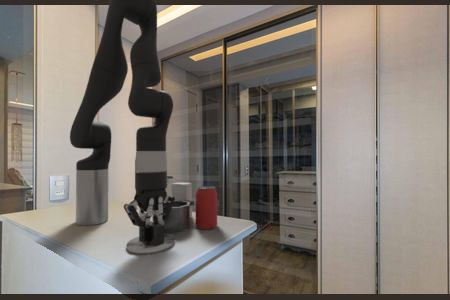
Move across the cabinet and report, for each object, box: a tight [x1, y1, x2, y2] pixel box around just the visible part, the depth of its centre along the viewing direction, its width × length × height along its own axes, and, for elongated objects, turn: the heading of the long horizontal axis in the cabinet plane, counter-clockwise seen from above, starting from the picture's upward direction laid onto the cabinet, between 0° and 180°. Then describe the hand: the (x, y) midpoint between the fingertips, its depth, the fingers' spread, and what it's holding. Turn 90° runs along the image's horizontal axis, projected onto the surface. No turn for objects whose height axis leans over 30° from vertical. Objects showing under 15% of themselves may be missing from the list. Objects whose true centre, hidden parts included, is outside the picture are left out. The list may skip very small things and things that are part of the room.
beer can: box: [195, 185, 218, 230], centre depth 69 cm, size 7×7×12 cm
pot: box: [161, 200, 195, 234], centre depth 69 cm, size 10×15×7 cm, turn 143°
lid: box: [126, 220, 176, 256], centre depth 56 cm, size 11×11×5 cm
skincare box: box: [171, 182, 193, 218], centre depth 80 cm, size 6×4×12 cm
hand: (151, 239), depth 56 cm, fingers closed on lid
